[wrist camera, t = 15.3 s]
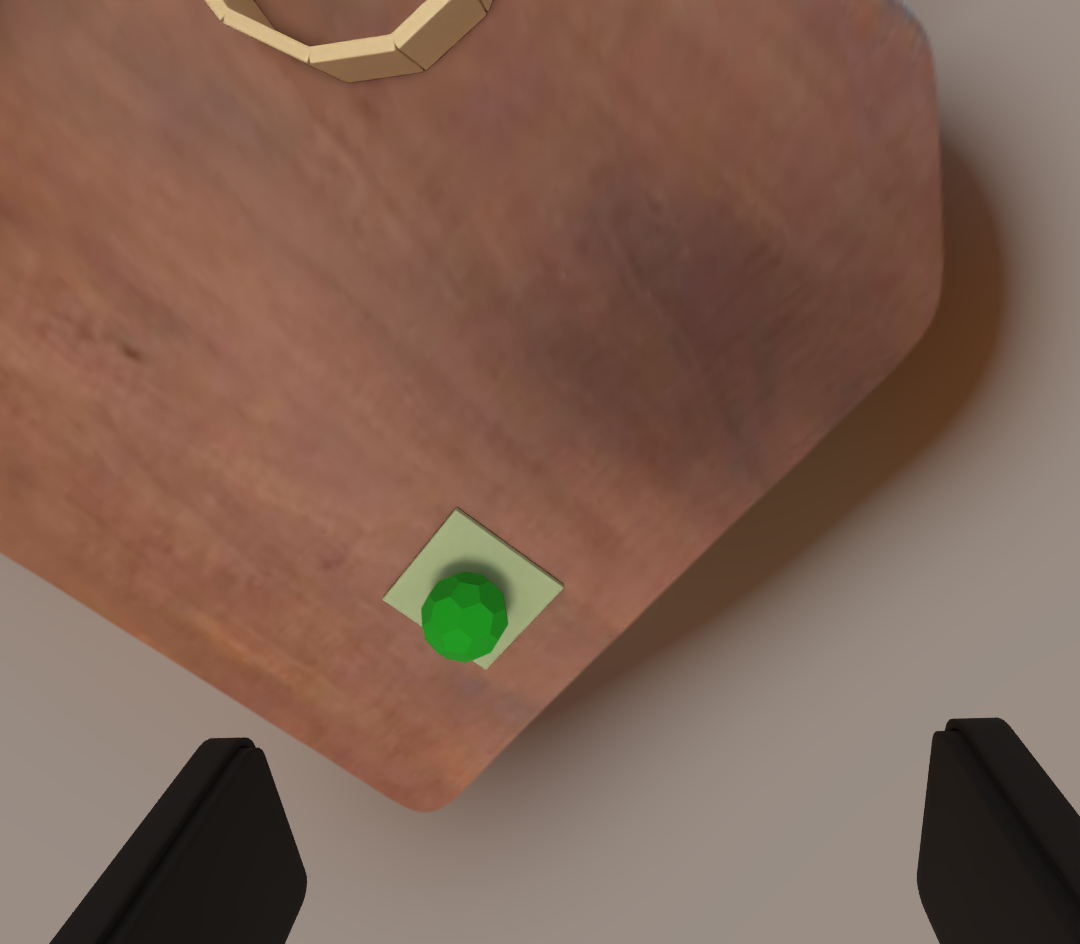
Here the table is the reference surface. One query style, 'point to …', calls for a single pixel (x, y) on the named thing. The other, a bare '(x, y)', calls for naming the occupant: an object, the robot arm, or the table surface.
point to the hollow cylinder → (367, 39)
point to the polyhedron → (464, 616)
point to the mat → (480, 553)
